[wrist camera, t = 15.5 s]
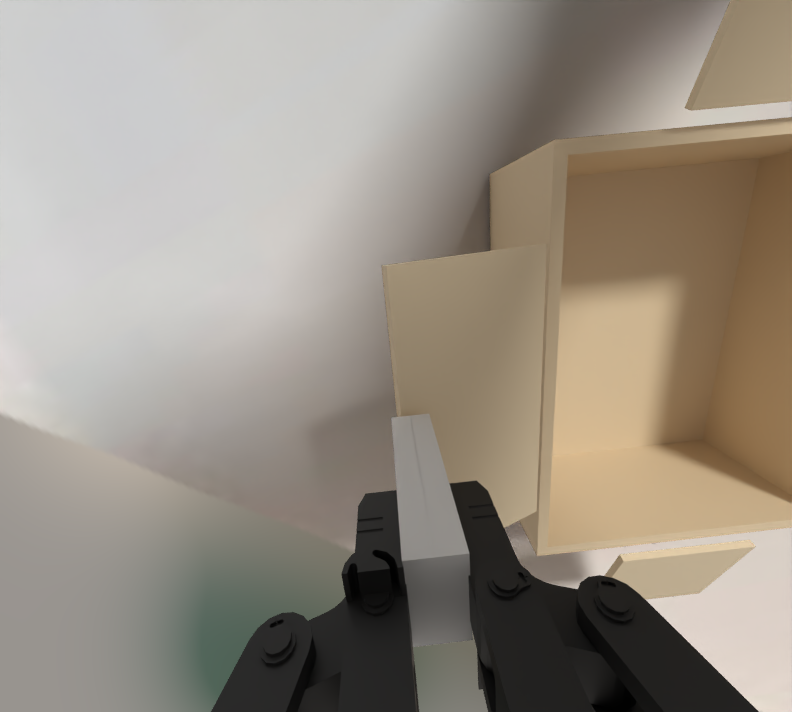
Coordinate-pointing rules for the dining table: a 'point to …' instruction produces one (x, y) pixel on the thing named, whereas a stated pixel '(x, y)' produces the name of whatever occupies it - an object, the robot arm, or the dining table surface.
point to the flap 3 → (748, 57)
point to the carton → (659, 331)
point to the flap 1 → (474, 364)
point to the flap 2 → (677, 568)
